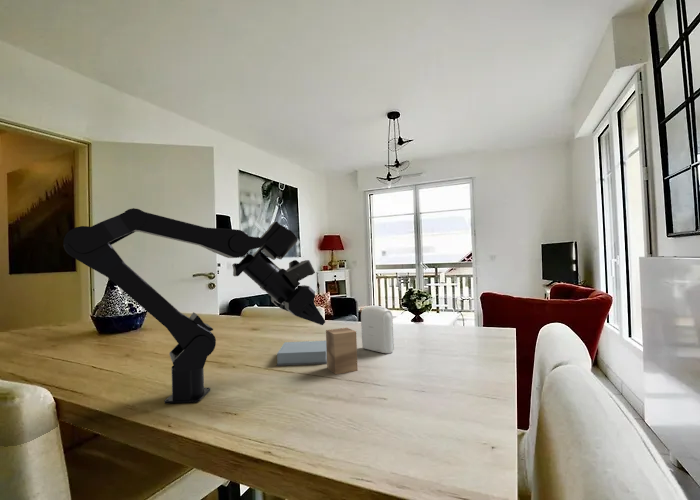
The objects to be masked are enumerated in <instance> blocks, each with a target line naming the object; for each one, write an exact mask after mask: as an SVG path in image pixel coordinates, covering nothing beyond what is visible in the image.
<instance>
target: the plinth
mask: <svg viewBox="0 0 700 500" xmlns="http://www.w3.org/2000/svg"><path fill="white" fill-rule="evenodd" d="M276 356H277V359H276V360H277V363H276V366H277V367H278V366H280V367H281V366H283V367H284V366H305V365H307V366H308V365H327V348H326V340H311V341H309V340H308V341H307V340H306V341H305V340H304V341H284V342H283V344H282V346H281V347H280V349H279V350H278V351H277V353H276Z"/></svg>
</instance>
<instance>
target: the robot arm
mask: <svg viewBox="0 0 700 500" xmlns="http://www.w3.org/2000/svg"><path fill="white" fill-rule="evenodd" d="M137 232H139V233H143V234H148V235H152V236H156V237H160V238H165V239H169V240H173V241H178V242H183V243H187V244H191V245H195V246H199V247H201V248H204V249H206V250H208V251H210V252H212V253H215V254H217V255H220V256H222V257H224V258H227V259H237V258H238V259H239V258H242V257H243V258H242V259H241V260H240V261H239V262H238V263H236V262H235V263H232V270H233V271H232V273H233V274H232V276H233V277H239V276H240V275H242V273H243V274H245V275H247V277H248V278H250V280H252V281H253V282H254V283H256V284H257V285H258V286H259V288H260V289H261V290H262V291H264V292H266V293H267V295H268V296H270V300H271V303H273V304H274V305H275V306H276V307H277V308H279V309H280V310H281V309H282V310H284V311H286V312H289V314H290V313H291V315H293V316H295V317H297V318H301V319H303V320H306V321H309V322H311V323H314V324H317V325H320V326H324V325H325V323H326V320H325V319H324V317H323V315H322V314H321V312H320V310H319V309H318V308H317V306H316V303H315V297H316V291H315V290H314V289H312V287H311V286H310V285H305V284H304V285H300V284H301V281H302V280H304V279H305V278H308V277H309V276H313V275H314V274H315V273H316V271H315V269H314V267H313V265H312V263H311V261H310V260H308V259H307V260H306V259H305V260H302V261H300V262H299V260H296V259H294V260H291V261H290V262H289V263H288V268H287V269H285V268H280V267H278V266H277V265H276V263H274V262H273V260H274V261H275V260H283V258H285V256H286V255H287V254H288V252H289V251H290V250H291V249H292V248H293V247H294V246H295V245H296V244H297V242H298V237H297V236H296V234H295V233H294V232H293V231H292V230H291V229H288V228H287V227H286V226H284V225H282V224H280V223H279V222H278V221H274V222H272V223H271V224H270V226H269V227H268V228H267V230H266V231H265V232H263V234H262V235H261V236H260V237H259V236H250V235H249V234H248V233H247V232H246V231H243V230H241V229H233V228H222V227H220V228H219V227H206V226H202V225H197V224H194V223H190V222H186V221H182V220H178V219H174V218H170V217H165V216H162V215H159V214H154V213H150V212H146V211H143V210H141V209H139V208H134V207H133V208H128V209H127V210H125V211H124V212H122V213H120V214H118V215H115V216H112V217H109V218H108V219H105V220H103V221H100V222H97V223H96V224H94V225H92V226H88V225H87V226H86V225H85V226H84V225H80V226H76V227H74V228H71V229H70V230H68V232H67V233H66V234H64V235H65V236H64V238H63V243H62V245H63V249H64V251H65V252H66V253H67V255H69V256H70V257H71V258H73V259H75V260H76V261H78V262H80V263H81V264H84V265H85V266H87V267H88V268H90V269H91V270H94V271H96V272H98V273H99V274H101V275H103V276H105V277H106V278H108V279H109V280H110V281H111V282H112V283H114V284H115V285H116V286H117V287H118V288H119V289H121V290H122V291H123V292H124V293H125V294H126V295H128V296H129V297H130V298H131V299H132V300H133V301H134V302H136V303H137V304H138V305H139V306H140V307H141V308H142V309H144V310H145V311H146V312H147V313H149V314H150V315H151V316H152V317H153V318H155V319H156V320H157V321H158V322H159V323H160V324H161V325H162V326H164V328H166V330H168V332H169V333H170V334H171V336H172V337H173V338H174V340H175V341H176V343H177V344H176V345H175V346H174V347H173V348H172V349H171V350H170V352H169V357H170V360H171V362H172V366H171V395H169V396H168V397H167V398H166V399H164V404H182V403H185V404H187V403H198V402H201V400H202V399H204V397H205V396H206V395H208V393H210V392H211V387H205V377H204V374H205V373H204V371H205V369H204V367H205V364H206V362H207V359H208V357H209V356H210V355H211V354H212V353H213V352H214V351H215V348H216V346H217V344H216V343H217V339H216V336H215V335H214V333H212V331H214V328H213V327H212V326H211V325H209V324H208V323H206V322H204V321H203V320H202V318H201V317H200V316H199V314H197V313H196V312H192V313H191V314H190V316H188V315H186V314H184V313H182V312H180V311H179V310H178V309H177V308H176V307H175V306H174V305H173V304H172V303H170V302H169V301H168V300H167V299H166V298H165V297H164V296H162V295H161V294H160V293H159V292H158V291H157V290H156V289H155V288H154V287H153V286H152V285H150V283H148V282H147V281H146V280H145V279H144V278H142V277H141V276H140V275H139V274H138V273H136V272H135V271H134V269H132V268H131V267H130V266H129V265H128V264H127V263H126V262H125V261H124V260H123V258H122V257H121V256H120V254H119V252H117V251H116V249H115V248H114V246H113V245H115V244H116V243H118V242H119V241H122V240H123V239H125V238H127V237H128V236H130V235H132V234H134V233H137ZM255 249H257V250H256V251H255V252H254V253H253V254H250V253H249V252H250V250H255Z"/></svg>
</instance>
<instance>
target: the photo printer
mask: <svg viewBox="0 0 700 500" xmlns="http://www.w3.org/2000/svg"><path fill="white" fill-rule="evenodd" d="M393 319H394V318H393V313H392V311H391V310H390V309H388V308H387V307H384V306H380V305H369V306H366V307H364V308H362V310H361V313H360V324H361V325H360V327H361V328H360V329H361V346H362V348H363V349H365V350H368V351H372V352H379V353H383V354H391V353H393V352H394V350H395V343H394V339H395V338H394V322H393Z"/></svg>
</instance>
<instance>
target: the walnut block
mask: <svg viewBox="0 0 700 500" xmlns="http://www.w3.org/2000/svg"><path fill="white" fill-rule="evenodd" d="M325 341H326V348H327V364H326V368H327V369H328V370H329V371H330V372H332V373H333V374H335V375H339V374H345V373H351V372H356V371H358V370H359V369H358V347H357V346H358V345H357V344H358V342H357V331H356V330H353V329H351V328H348V327H343V328H334V329H333V328H331V329H326V330H325Z"/></svg>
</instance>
